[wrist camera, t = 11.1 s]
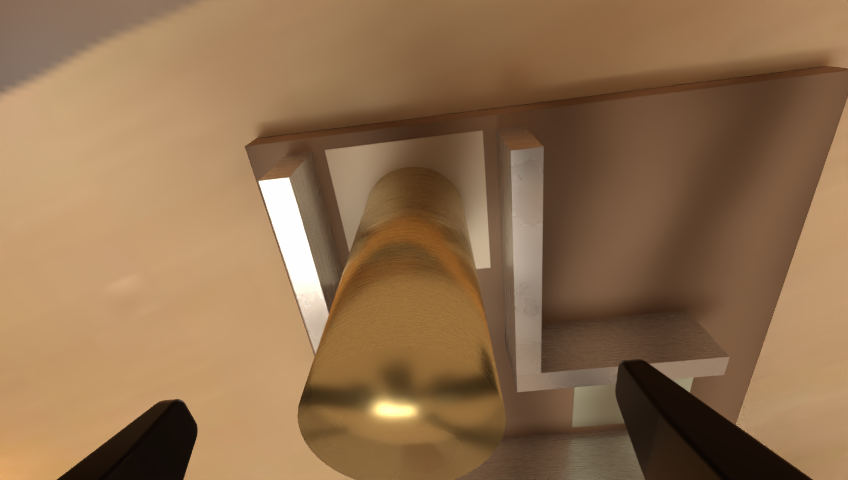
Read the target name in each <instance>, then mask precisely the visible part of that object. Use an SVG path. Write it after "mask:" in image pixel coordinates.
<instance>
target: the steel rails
mask: <svg viewBox="0 0 848 480" xmlns="http://www.w3.org/2000/svg"><path fill="white" fill-rule="evenodd" d="M496 140H497V164H498V188H499V212H500V235H501V259H502V283H503V307H504V331H505V345H506V349H507V353H508V358H509V362H510V366H511V370H512V374H513V378H514V382H515V386H516V390H517V392H525V391H537V390H549V389H561V388H573V387H585V386H597V385H609V384H616V380H617V372H618V366H619V363H620V362H621V361H623V360H632V359H642V360H644V361H646V362H647V363H649V364H650V365H652V366H653V367H655V368H656V369H657V370H659V371H660V372H662V373H663V374H664V375H666V376H667V377H669V378H670V379H681V378H693V377H705V376H717V375H724V374H725V371H726V368H727V364H728V361H729V356H728V354H727V353H726V352H725V351H724V350H723V349H722V348H721V347H720V346H719V345H718V343H717V342H716V341H715V340H714V339H713V338H712V337H711V336H710V335H709V334H708V333H707V331H706V330H705V329H704V328H703V327H702V326H701V325H700V324H699V323H698V322H697V320H696V319H695V318H694V317H693V316H692V315H691V314H690V313H689V312H688V311H677V312H667V313H656V314H645V315H634V316H624V317H613V318H602V319H591V320H581V321H570V322H559V323H549V324H542V245H543V162H544V147H543V146H542V145H541V144H540V142H539V141H538V140H537V139H536V138H535V137H534V136H533V135H532V134H531V133H530V132H529V131H528V130H527V129H526V128H525V127H524V126H523V125H521V126H513V127H505V128H497V129H496ZM259 184H260V187H261V190H262V193H263V196H264V199H265V202H266V205H267V208H268V211H269V214H270V217H271V220H272V223H273V226H274V229H275V233H276V236H277V239H278V242H279V245H280V248H281V251H282V254H283V257H284V260H285V263H286V266H287V269H288V272H289V275H290V278H291V281H292V284H293V287H294V290H295V293H296V296H297V299H298V302H299V305H300V308H301V311H302V314H303V318H304V321H305V324H306V327H307V330H308V333H309V336H310V339H311V342H312V345H313V348H314V351H315V354H316V352H317V349H318V346H319V343H320V340H321V337H322V334H323V331H324V328H325V325H326V322H327V319H328V316H329V313H330V310H331V307H332V304H333V301H334V298H335V295H336V292H337V289H338V286H339V283H340V280H341V277H342V274H343V269H342V265H341V262H340V258H339V254H338V250H337V246H336V242H335V238H334V234H333V230H332V226H331V222H330V219H329V215H328V211H327V207H326V203H325V199H324V195H323V191H322V187H321V183H320V179H319V176H318V172H317V168H316V164H315V160H314V156H313V152H312V151H311V152H303V153H295V154H287V155H286V156H285V157H284V158H283V159H282V160H280V161H279V162H278V163H277V164H276V165H275V166H274V167H273V168H272V169H271V170H270V171H269V172H268V173H267V174H266V175H264V176H263V177H262V178H261V179H260V180H259ZM454 480H645V478H644V476H643V473H642V471H641V468H640V465H639V462H638V459H637V457H636V454H635V451H634V448H633V445H632V443H631V440H630V437H629V434H628V431H627V428H619V429H606V430H593V431H580V432H567V433H553V434H540V435H527V436H514V437H502V439H501V441H500V444H499V445H498V447H497V448H496V450H495V451H494V453H493V454H492V455H491V456H490V457H489V458H488V459H487V460H486V461H485V462H484V463H482V464H481V465H480V466H479V467H477V468H476V469H474V470H473V471H471V472H469V473H467V474H465V475H463V476H461V477H459V478H456V479H454Z"/></svg>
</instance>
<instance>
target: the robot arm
mask: <svg viewBox="0 0 848 480" xmlns="http://www.w3.org/2000/svg"><path fill="white" fill-rule="evenodd" d="M615 395H616V400H617V403H618V406H619V409H620V412H621V414H622V417H623V420H624V423H625V426H626V428H627V431H628V434H629V437H630V440H631V443H632V445H633V448H634V451H635V454H636V457H637V459H638V462H639V465H640V468H641V471H642V473H643V476H644V478H645V480H813V479H811V478H810V477H808V476H807V475H806V474H804V473H803V472H801V471H800V470H798V469H797V468H796V467H794V466H793V465H791V464H790V463H789V462H787V461H786V460H784V459H783V458H782V457H780V456H779V455H777V454H776V453H774V452H773V451H772V450H770V449H769V448H767V447H766V446H765V445H763V444H762V443H760V442H759V441H758V440H756V439H755V438H753V437H752V436H750V435H749V434H748V433H746V432H745V431H743V430H742V429H741V428H739V427H738V426H736V425H735V424H734V423H732V422H731V421H729V420H728V419H727V418H725V417H724V416H722V415H721V414H719V413H718V412H717V411H715V410H714V409H712V408H711V407H710V406H708V405H707V404H705V403H704V402H703V401H701V400H700V399H698V398H697V397H695V396H694V395H693V394H691V393H690V392H688V391H687V390H686V389H684V388H683V387H681V386H680V385H679V384H677V383H676V382H674V381H673V380H671V379H670V378H669V377H667V376H666V375H664V374H663V373H662V372H660V371H659V370H657V369H656V368H655V367H653V366H652V365H650V364H649V363H647V362H646V361H644V360H642V359H632V360H623V361H621V362H620V363H619V366H618V372H617V380H616V387H615ZM196 437H197V424H196V422H195V420H194V418H193V417H192V415H191V413H190V411H189V410H188V408H187V406H186V404H185V403H184V402H183V401H182V400H180V399H174V400H164V401H160V402H158V403H157V404H155V405H154V406H153V407H151V408H150V409H149V410H147V411H146V412H145V413H143V414H142V415H141V416H140V417H138V418H137V419H136V420H134V421H133V422H132V423H130V424H129V425H128V426H126V427H125V428H124V429H123V430H121V431H120V432H119V433H117V434H116V435H115V436H113V437H112V438H111V439H109V440H108V441H107V442H106V443H104V444H103V445H102V446H100V447H99V448H98V449H96V450H95V451H94V452H92V453H91V454H90V455H88V456H87V457H86V458H85V459H83V460H82V461H81V462H79V463H78V464H77V465H75V466H74V467H73V468H71V469H70V470H69V471H68V472H66V473H65V474H64V475H62V476H61V477H60V478H58V479H57V480H183V479H184V476H185V473H186V469H187V466H188V463H189V460H190V457H191V454H192V450H193V447H194V444H195V441H196Z"/></svg>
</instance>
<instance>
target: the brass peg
mask: <svg viewBox="0 0 848 480" xmlns="http://www.w3.org/2000/svg"><path fill="white" fill-rule="evenodd" d="M298 423H299V428H300V431H301V434H302V436H303V438H304V440H305V442H306V444H307V445H308V446H309V448H310V449H311V451H312V452H313V453H314V454H315V455H316V456H317V457H318V458H319V459H320V460H322V461H323V462H324V463H325V464H327V465H328V466H330V467H331V468H333V469H334V470H336V471H338V472H340V473H342V474H344V475H346V476H348V477H350V478H353V479H355V480H454V479H456V478H459V477H461V476H463V475H465V474H467V473H469V472H471V471H473V470H474V469H476V468H477V467H479V466H480V465H481V464H482V463H484V462H485V461H486V460H487V459H488V458H489V457H490V456H491V455H492V454H493V453H494V451H495V450H496V448H497V447H498V445H499V444H500V441H501V439H502V437H503V434H504V430H505V423H506V416H505V409H504V404H503V399H502V394H501V389H500V384H499V379H498V374H497V369H496V364H495V359H494V354H493V349H492V345H491V340H490V335H489V330H488V325H487V320H486V315H485V310H484V305H483V300H482V295H481V290H480V286H479V281H478V276H477V271H476V266H475V261H474V256H473V251H472V246H471V241H470V236H469V231H468V227H467V222H466V217H465V212H464V207H463V202H462V199H461V196H460V194H459V192H458V190H457V189H456V187H455V186H454V185H453V183H452V182H451V181H450V180H449V179H447V178H446V177H445V176H443V175H442V174H440V173H438V172H436V171H434V170H431V169H428V168H424V167H405V168H400V169H397V170H394V171H392V172H390V173H388V174H387V175H385V176H384V177H382V178H381V179H380V180H379V181H378V182H377V183H376V184H375V186H374V187H373V189H372V190H371V192H370V194H369V197H368V199H367V202H366V205H365V208H364V211H363V214H362V217H361V220H360V223H359V226H358V229H357V232H356V235H355V238H354V241H353V244H352V247H351V250H350V253H349V256H348V259H347V262H346V265H345V268H344V271H343V274H342V277H341V280H340V283H339V286H338V289H337V292H336V295H335V298H334V301H333V304H332V307H331V310H330V313H329V316H328V319H327V322H326V325H325V328H324V331H323V334H322V337H321V340H320V343H319V346H318V349H317V352H316V355H315V358H314V361H313V364H312V367H311V370H310V373H309V376H308V379H307V382H306V385H305V388H304V391H303V394H302V397H301V400H300V403H299V407H298Z"/></svg>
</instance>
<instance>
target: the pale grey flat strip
mask: <svg viewBox="0 0 848 480" xmlns="http://www.w3.org/2000/svg"><path fill="white" fill-rule="evenodd" d="M847 97H848V69H847V68H838V67H828V66H826V67H818V68H810V69H802V70H794V71H786V72H778V73H770V74H762V75H755V76H747V77H739V78H731V79H723V80H715V81H707V82H699V83H691V84H683V85H676V86H668V87H660V88H652V89H644V90H636V91H628V92H620V93H612V94H605V95H597V96H589V97H581V98H573V99H565V100H557V101H549V102H541V103H533V104H526V105H518V106H510V107H502V108H494V109H486V110H478V111H470V112H462V113H454V114H447V115H439V116H431V117H423V118H415V119H407V120H399V121H391V122H383V123H376V124H368V125H360V126H352V127H344V128H336V129H328V130H320V131H312V132H304V133H297V134H289V135H281V136H273V137H265V138H257V139H255V140H254V141H252V142H251V143H249V144H248V145H246V146H245V148H246V151H247V154H248V157H249V160H250V163H251V166H252V169H253V172H254V175H255V178H256V181H257V184H258V187H259V190H260V193H261V196H262V199H263V202H264V205H265V208H266V211H267V214H268V217H269V220H270V223H271V226H272V229H273V233H274V236H275V239H276V242H277V245H278V248H279V251H280V254H281V257H282V260H283V263H284V266H285V269H286V272H287V275H288V278H289V281H290V284H291V287H292V290H293V293H294V296H295V299H296V302H297V305H298V308H299V311H300V314H301V317H302V320H303V323H304V326H305V329H306V332H307V335H308V338H309V341H310V344H311V347H312V350H313V353H314V356H315V355H316V354H315V351H314V348H313V345H312V342H311V339H310V336H309V333H308V330H307V327H306V324H305V321H304V318H303V314H302V311H301V308H300V305H299V302H298V299H297V296H296V293H295V290H294V287H293V284H292V281H291V278H290V275H289V272H288V269H287V266H286V263H285V260H284V257H283V254H282V251H281V248H280V245H279V242H278V239H277V236H276V233H275V229H274V226H273V223H272V220H271V217H270V214H269V211H268V208H267V205H266V202H265V199H264V196H263V193H262V190H261V187H260V184H259V180H260V179H261V178H262V177H263V176H264V175H266V174H267V173H268V172H269V171H270V170H271V169H272V168H273V167H274V166H275V165H276V164H277V163H278V162H279V161H280V160H282V159H283V158H284V157H285V156H286V155H287V154H295V153H303V152H311V151H312V152H313V156H314V160H315V164H316V168H317V172H318V176H319V179H320V183H321V187H322V191H323V195H324V199H325V203H326V207H327V211H328V215H329V219H330V222H331V226H332V230H333V234H334V238H335V242H336V246H337V250H338V254H339V258H340V262H341V265H342V269H343V271H344V268H345V265H346V262H347V259H348V256H349V253H350V250H351V247H352V244H353V241H354V238H355V235H356V232H357V229H358V226H359V223H360V220H361V217H362V214H363V211H364V208H365V205H366V202H367V199H368V197H369V194H370V192H371V190H372V189H373V187H374V186H375V184H376V183H377V182H378V181H379V180H380V179H381V178H382V177H384V176H385V175H387V174H388V173H390V172H392V171H394V170H397V169H400V168H405V167H424V168H428V169H431V170H434V171H436V172H438V173H440V174H442V175H443V176H445V177H446V178H447V179H449V180H450V181H451V182H452V183H453V185H454V186H455V187H456V189H457V190H458V192H459V194H460V196H461V199H462V202H463V207H464V212H465V217H466V222H467V227H468V231H469V236H470V241H471V246H472V251H473V256H474V261H475V266H476V271H477V276H478V281H479V286H480V290H481V295H482V300H483V305H484V310H485V315H486V320H487V325H488V330H489V335H490V340H491V345H492V349H493V354H494V359H495V364H496V369H497V374H498V379H499V384H500V389H501V394H502V399H503V404H504V409H505V416H506V423H505V430H504V434H503V437H514V436H527V435H540V434H553V433H567V432H580V431H593V430H606V429H619V428H626V426H625V423H624V420H623V417H622V414H621V412H620V409H619V406H618V403H617V400H616V395H615V387H616V384H609V385H597V386H585V387H573V388H561V389H549V390H537V391H525V392H517V390H516V386H515V382H514V378H513V374H512V370H511V366H510V362H509V358H508V353H507V349H506V345H505V331H504V307H503V283H502V259H501V235H500V212H499V188H498V164H497V140H496V129H497V128H505V127H513V126H521V125H523V126H524V127H525V128H526V129H527V130H528V131H529V132H530V133H531V134H532V135H533V136H534V137H535V138H536V139H537V140H538V141H539V142H540V144H541V145H542V146H543V147H544V162H543V245H542V324H549V323H559V322H570V321H581V320H591V319H602V318H613V317H624V316H634V315H645V314H656V313H667V312H677V311H688V312H689V313H690V314H691V315H692V316H693V317H694V318H695V319H696V320H697V322H698V323H699V324H700V325H701V326H702V327H703V328H704V329H705V330H706V331H707V333H708V334H709V335H710V336H711V337H712V338H713V339H714V340H715V341H716V342H717V343H718V345H719V346H720V347H721V348H722V349H723V350H724V351H725V352H726V353H727V354H728V356H729V361H728V364H727V368H726V371H725V374H724V375H717V376H705V377H693V378H681V379H671V380H673V381H674V382H676V383H677V384H679V385H680V386H681V387H683V388H684V389H686V390H687V391H688V392H690V393H691V394H693V395H694V396H695V397H697V398H698V399H700V400H701V401H703V402H704V403H705V404H707V405H708V406H710V407H711V408H712V409H714V410H715V411H717V412H718V413H719V414H721V415H722V416H724V417H725V418H727V419H728V420H729V421H731V422H732V423H734V424H736V421H737V418H738V415H739V412H740V409H741V407H742V404H743V401H744V398H745V395H746V392H747V389H748V386H749V383H750V380H751V377H752V374H753V372H754V369H755V366H756V363H757V360H758V357H759V354H760V351H761V348H762V345H763V342H764V339H765V336H766V334H767V331H768V328H769V325H770V322H771V319H772V316H773V313H774V310H775V307H776V304H777V301H778V298H779V296H780V293H781V290H782V287H783V284H784V281H785V278H786V275H787V272H788V269H789V266H790V263H791V260H792V258H793V255H794V252H795V249H796V246H797V243H798V240H799V237H800V234H801V231H802V228H803V225H804V223H805V220H806V217H807V214H808V211H809V208H810V205H811V202H812V199H813V196H814V193H815V190H816V187H817V185H818V182H819V179H820V176H821V173H822V170H823V167H824V164H825V161H826V158H827V155H828V152H829V149H830V147H831V144H832V141H833V138H834V135H835V132H836V129H837V126H838V123H839V120H840V117H841V114H842V111H843V109H844V106H845V103H846V100H847Z"/></svg>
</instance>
